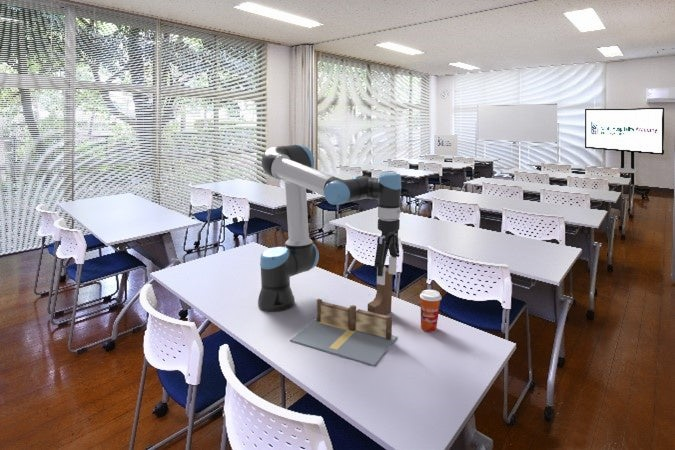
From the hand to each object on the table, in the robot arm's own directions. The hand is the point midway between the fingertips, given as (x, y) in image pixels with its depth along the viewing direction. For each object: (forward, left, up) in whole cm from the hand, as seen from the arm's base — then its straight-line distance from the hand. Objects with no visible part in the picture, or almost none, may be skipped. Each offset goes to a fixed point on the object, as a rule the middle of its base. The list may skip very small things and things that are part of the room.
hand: (386, 278), depth 148 cm
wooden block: (-7, +11, -20) cm, 24 cm away
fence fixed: (-17, -7, -19) cm, 27 cm away
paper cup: (+14, +8, -20) cm, 26 cm away
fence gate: (-2, -7, -19) cm, 20 cm away
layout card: (-10, -14, -20) cm, 26 cm away
